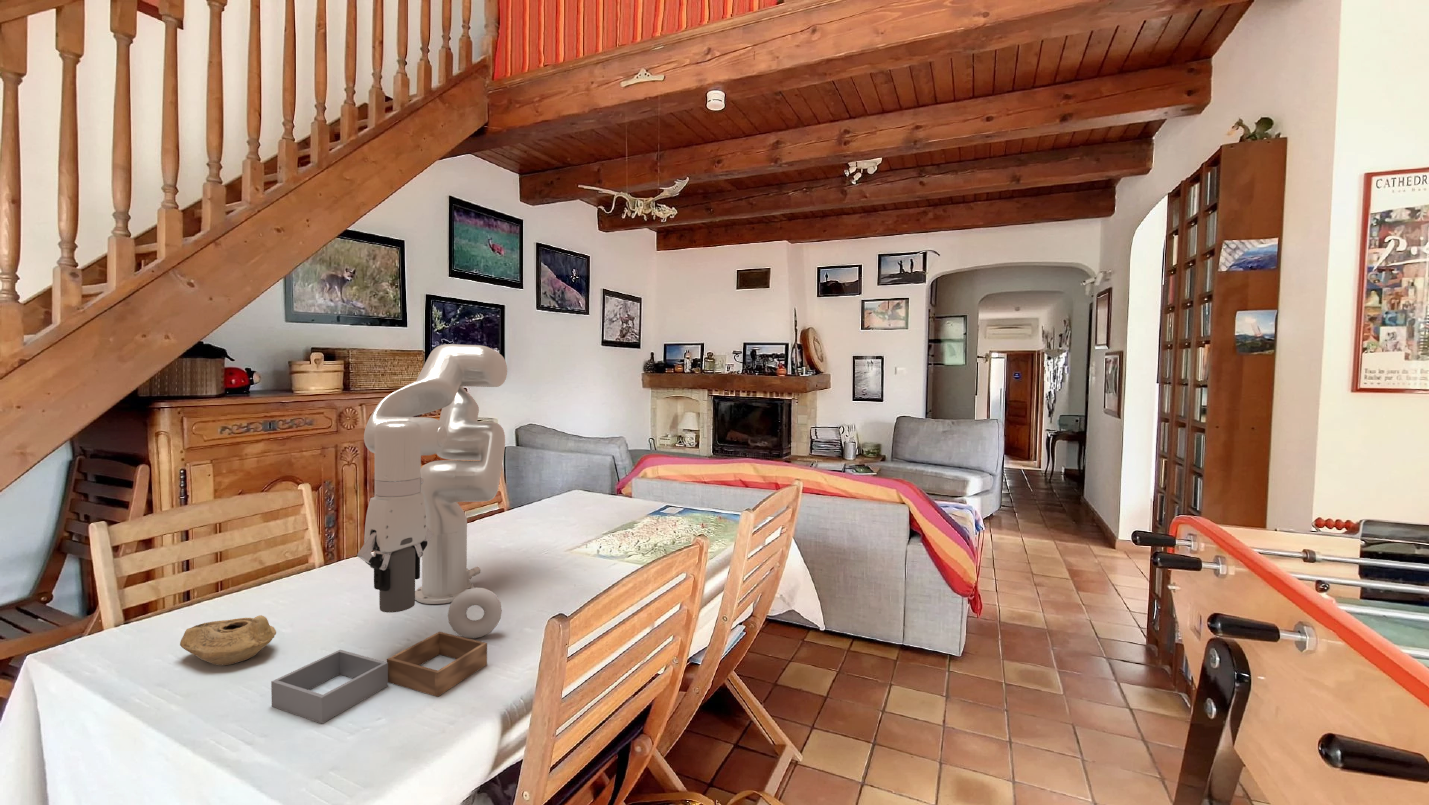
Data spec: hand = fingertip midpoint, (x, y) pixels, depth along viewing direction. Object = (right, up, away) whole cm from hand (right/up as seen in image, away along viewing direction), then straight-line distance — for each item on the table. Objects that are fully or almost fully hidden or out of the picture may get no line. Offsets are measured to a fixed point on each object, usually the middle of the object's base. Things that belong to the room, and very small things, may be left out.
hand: (397, 582), depth 107 cm
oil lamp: (-29, -13, -4) cm, 32 cm away
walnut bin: (+11, -14, -6) cm, 19 cm away
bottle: (0, -5, 0) cm, 5 cm away
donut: (+11, -13, +7) cm, 19 cm away
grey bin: (-3, -14, -14) cm, 20 cm away
